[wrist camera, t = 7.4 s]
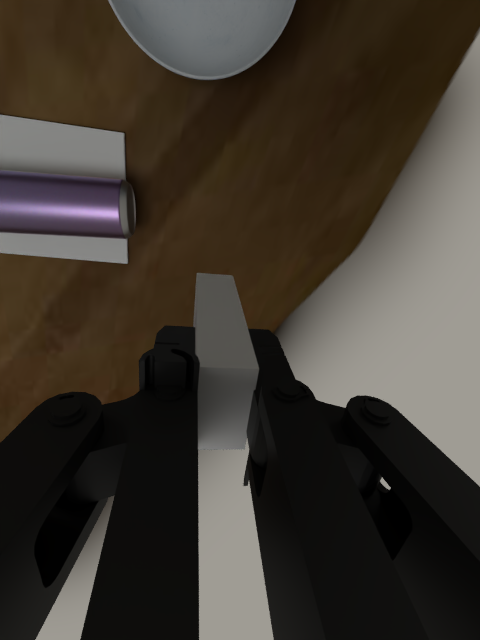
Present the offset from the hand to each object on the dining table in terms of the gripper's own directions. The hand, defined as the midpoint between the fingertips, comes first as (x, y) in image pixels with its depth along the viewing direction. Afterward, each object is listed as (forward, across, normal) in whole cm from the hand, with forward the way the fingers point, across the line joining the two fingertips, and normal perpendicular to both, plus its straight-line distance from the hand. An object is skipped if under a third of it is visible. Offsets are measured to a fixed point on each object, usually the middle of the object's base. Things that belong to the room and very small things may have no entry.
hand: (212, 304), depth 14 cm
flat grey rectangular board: (+27, -17, 0) cm, 32 cm away
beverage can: (+24, -7, -1) cm, 25 cm away
